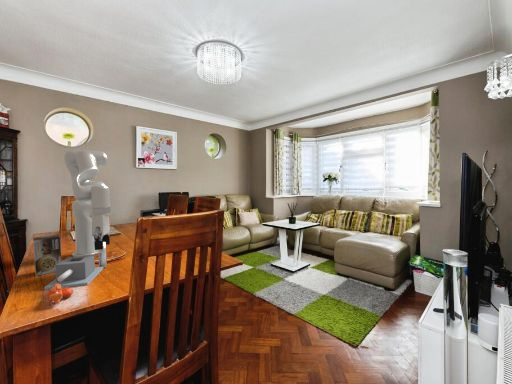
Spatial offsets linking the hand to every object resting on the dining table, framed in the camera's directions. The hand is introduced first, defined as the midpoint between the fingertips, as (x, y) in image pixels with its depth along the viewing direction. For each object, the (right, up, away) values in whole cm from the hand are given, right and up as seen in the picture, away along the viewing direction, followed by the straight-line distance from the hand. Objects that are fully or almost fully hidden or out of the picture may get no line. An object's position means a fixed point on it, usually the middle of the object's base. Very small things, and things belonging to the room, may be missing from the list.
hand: (102, 246), depth 110 cm
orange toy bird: (+5, -11, -30) cm, 32 cm away
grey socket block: (-2, -10, -14) cm, 18 cm away
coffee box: (-22, -10, -5) cm, 25 cm away
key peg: (-1, -10, +1) cm, 10 cm away
